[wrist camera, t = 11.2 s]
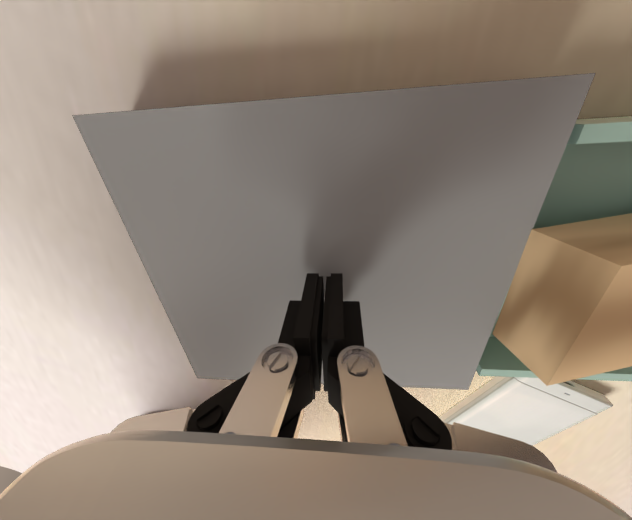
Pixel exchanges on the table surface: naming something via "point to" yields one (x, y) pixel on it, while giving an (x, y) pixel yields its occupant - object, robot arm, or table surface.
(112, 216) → the table surface
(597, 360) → the tile oak
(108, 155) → the board
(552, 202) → the tray
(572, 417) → the hard drive
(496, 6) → the table surface
